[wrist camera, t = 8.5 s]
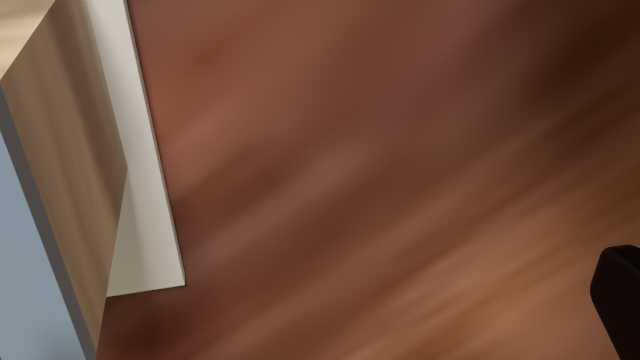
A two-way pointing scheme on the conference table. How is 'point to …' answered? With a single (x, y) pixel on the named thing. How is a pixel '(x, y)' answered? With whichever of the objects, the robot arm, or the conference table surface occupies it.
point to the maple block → (55, 181)
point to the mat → (135, 164)
